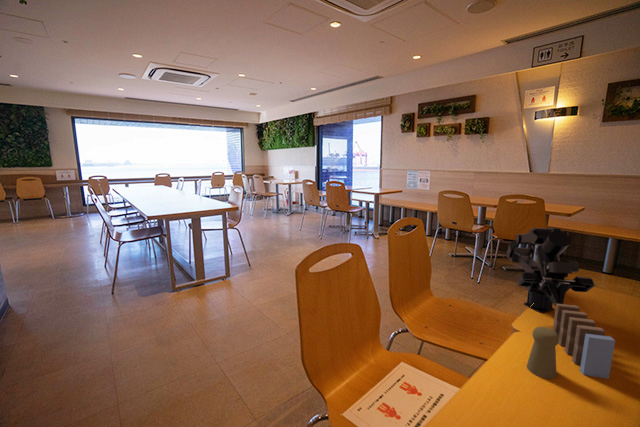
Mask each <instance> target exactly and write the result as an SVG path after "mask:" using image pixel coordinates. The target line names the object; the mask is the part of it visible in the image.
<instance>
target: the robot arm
mask: <svg viewBox="0 0 640 427" xmlns="http://www.w3.org/2000/svg"><path fill="white" fill-rule="evenodd" d="M571 243H572V238H571V237H570V236H569V235H568V234H567V233H565V232H564V231H562V230H561V228H546V227H545V228H544V227H543V228H542V227H532V228H531V229H530V230H529V231H528V232H526V233H519V234H517V235H516V236H515V239H514V240H512V241H511V242H510V243H509V244H508V247H507V250H506V257H507V258H508V260H509V261H510V262H512V263H516V264H519V265H520V267H521V268H522V269H523V270H524V271H523V272H521V273H520V274H519V276H518V278H517V286H519V287H522V288H525V289H526V290H527V299H526V302H524V303H523V305H524V306H525V307H528V308H530V306H531V305H532V304H533V303H534V304H533V305H532V306H531V308H530V309H532V310H534V311H537V312H539V313H547V312H549V311H553V310H555V308H554V307H553V305H554V306H555V307H556V304H564V301H565V296H566V293H567V292H568V291H570V290H571V291H573V292H576V293H577V292H578V293H587V292H589V291H590V290H591V289H592V288H594V287H595V286H596V284H595V281H594V280H593V278H592V277H589V276H587V277H586V276H579V275H577V276H575V277H574V278H573V279H566V278H568V277H569V275H572V274H573V273H577V272H579V271H580V268H579V266H580V265H579V263H578V261H577V260H568V261H567V262H563V261H562V260H561V259H560V255H561V254H562V253H563V252H564V251H565V250H566V249H567V248H568V247H569V246H570V245H571ZM519 245H529V248H528V247H519ZM533 245H539V246H537V247H536V249H534V247H533ZM534 253H535V255H536V256H537V262H536V260H534V259H533V256H534Z"/></svg>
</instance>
